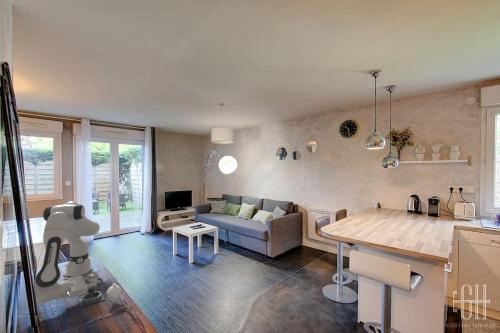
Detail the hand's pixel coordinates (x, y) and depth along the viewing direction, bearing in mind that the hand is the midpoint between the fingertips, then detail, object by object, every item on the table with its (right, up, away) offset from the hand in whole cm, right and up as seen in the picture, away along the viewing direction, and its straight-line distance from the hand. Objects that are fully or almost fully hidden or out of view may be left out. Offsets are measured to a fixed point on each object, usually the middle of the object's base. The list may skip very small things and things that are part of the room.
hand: (93, 281), depth 141 cm
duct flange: (-1, -11, -1) cm, 11 cm away
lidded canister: (-1, -5, -1) cm, 6 cm away
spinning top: (+14, -12, -4) cm, 19 cm away
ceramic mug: (-13, -11, +18) cm, 25 cm away
